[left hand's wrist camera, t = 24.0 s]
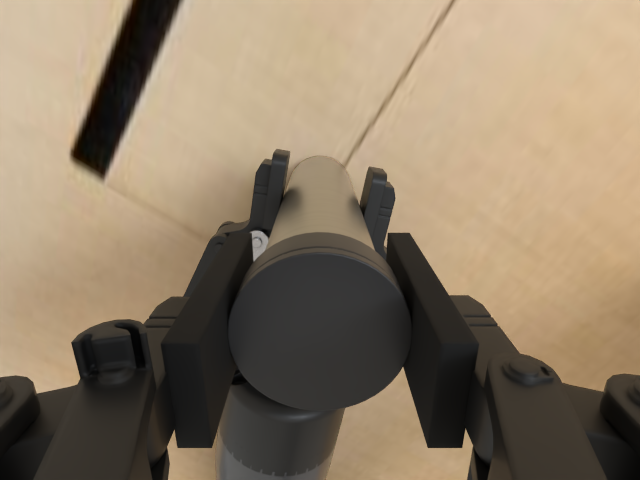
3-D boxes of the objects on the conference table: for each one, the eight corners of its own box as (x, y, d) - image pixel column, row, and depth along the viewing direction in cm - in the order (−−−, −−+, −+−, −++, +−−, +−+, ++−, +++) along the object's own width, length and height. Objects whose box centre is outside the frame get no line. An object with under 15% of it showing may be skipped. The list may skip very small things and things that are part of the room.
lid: (296, 396, 13) (293, 436, 11) (205, 284, 12) (188, 312, 10) (429, 329, 12) (444, 362, 11) (348, 198, 11) (353, 216, 9)
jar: (341, 222, 28) (368, 391, 12) (282, 208, 27) (233, 362, 12) (358, 164, 26) (414, 271, 11) (297, 148, 26) (262, 234, 10)
